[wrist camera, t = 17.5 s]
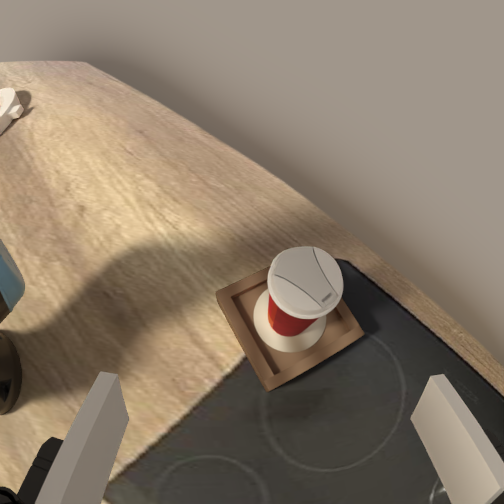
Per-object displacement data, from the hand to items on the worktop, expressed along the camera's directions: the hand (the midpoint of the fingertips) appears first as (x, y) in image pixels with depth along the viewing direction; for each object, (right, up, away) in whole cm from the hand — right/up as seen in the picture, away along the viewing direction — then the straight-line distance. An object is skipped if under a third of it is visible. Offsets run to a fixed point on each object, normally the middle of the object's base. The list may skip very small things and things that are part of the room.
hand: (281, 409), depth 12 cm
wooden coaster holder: (+4, -4, +34) cm, 34 cm away
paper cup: (+4, -3, +31) cm, 32 cm away
